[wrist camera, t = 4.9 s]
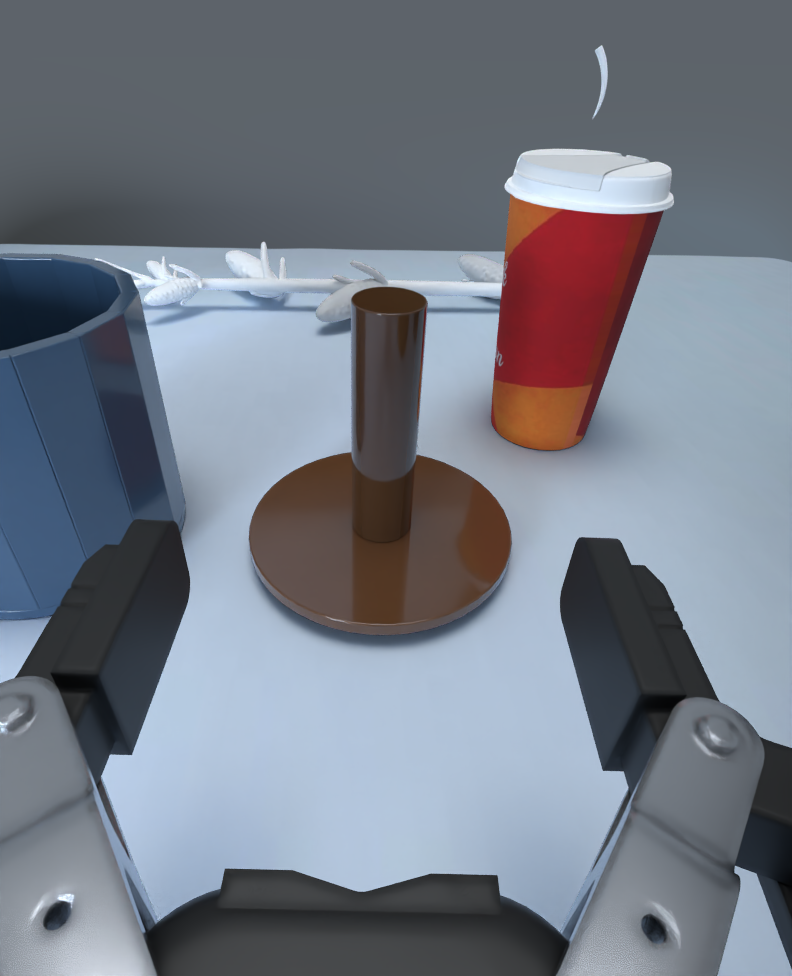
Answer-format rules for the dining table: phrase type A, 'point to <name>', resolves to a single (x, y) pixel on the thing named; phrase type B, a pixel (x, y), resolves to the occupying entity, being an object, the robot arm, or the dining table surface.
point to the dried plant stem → (338, 304)
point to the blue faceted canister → (74, 424)
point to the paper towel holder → (381, 502)
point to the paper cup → (569, 285)
